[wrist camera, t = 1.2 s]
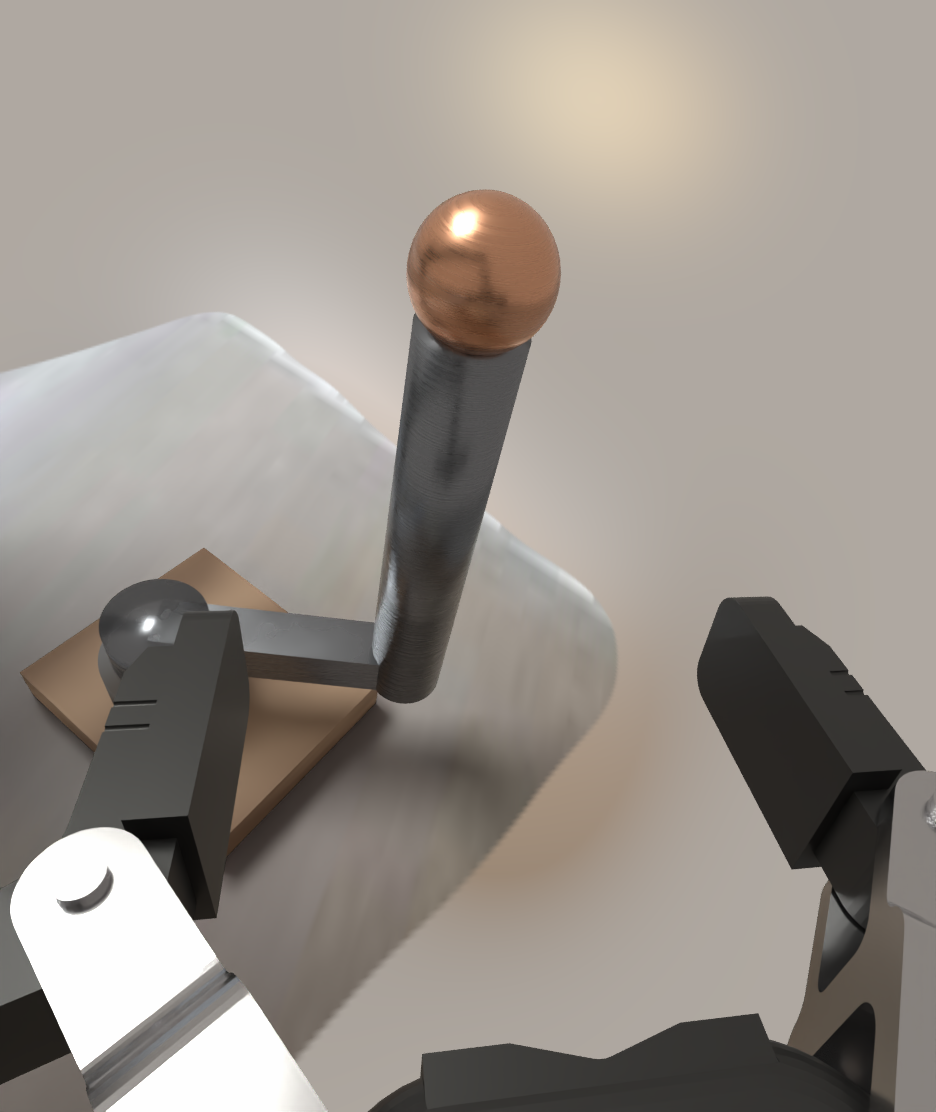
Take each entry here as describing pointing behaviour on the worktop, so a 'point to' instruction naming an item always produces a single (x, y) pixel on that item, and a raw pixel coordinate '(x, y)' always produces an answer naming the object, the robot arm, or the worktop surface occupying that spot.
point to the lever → (407, 464)
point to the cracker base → (274, 709)
